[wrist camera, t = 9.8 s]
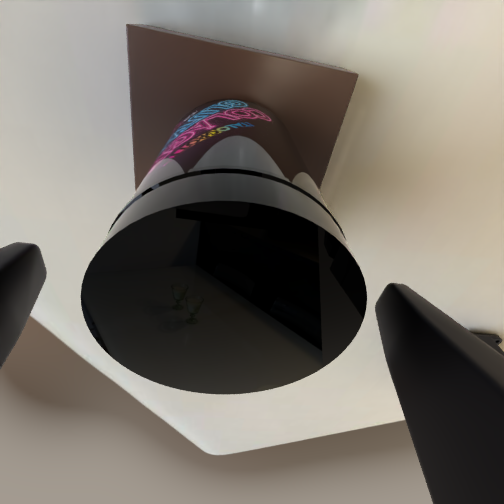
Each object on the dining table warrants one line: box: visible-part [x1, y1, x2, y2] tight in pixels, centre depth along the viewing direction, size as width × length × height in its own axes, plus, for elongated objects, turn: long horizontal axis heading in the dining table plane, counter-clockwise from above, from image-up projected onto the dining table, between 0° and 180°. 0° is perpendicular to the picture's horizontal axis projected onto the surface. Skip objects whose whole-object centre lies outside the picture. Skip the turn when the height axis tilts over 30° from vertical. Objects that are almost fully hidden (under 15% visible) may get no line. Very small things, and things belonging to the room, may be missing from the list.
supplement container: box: [81, 98, 367, 394], centre depth 11 cm, size 7×7×10 cm
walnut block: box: [126, 24, 358, 190], centre depth 17 cm, size 10×10×2 cm
